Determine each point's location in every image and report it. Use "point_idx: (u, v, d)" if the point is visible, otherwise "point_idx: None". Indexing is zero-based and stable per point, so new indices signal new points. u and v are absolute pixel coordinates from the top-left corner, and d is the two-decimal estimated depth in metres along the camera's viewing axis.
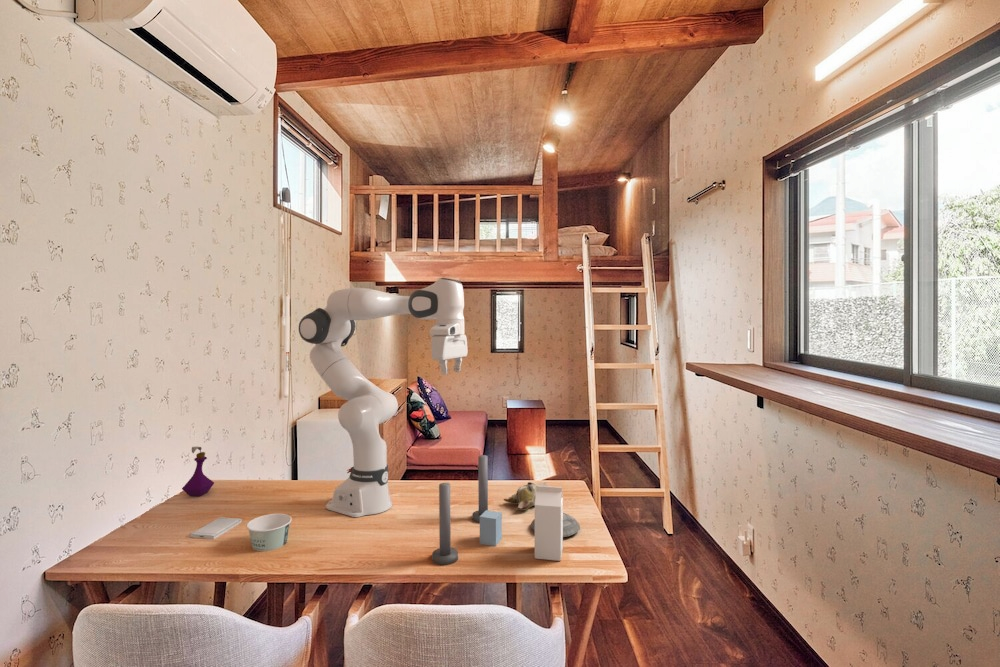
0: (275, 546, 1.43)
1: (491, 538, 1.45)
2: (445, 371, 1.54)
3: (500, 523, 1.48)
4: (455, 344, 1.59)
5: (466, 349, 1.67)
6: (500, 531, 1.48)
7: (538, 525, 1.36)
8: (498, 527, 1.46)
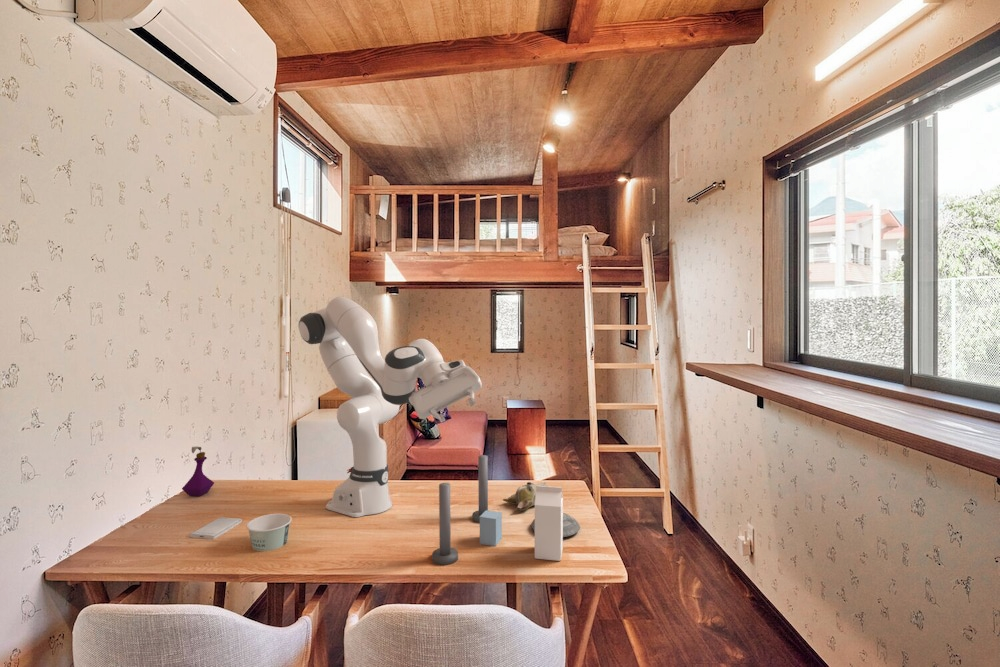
0: (275, 546, 1.43)
1: (491, 538, 1.45)
2: None
3: (500, 523, 1.48)
4: None
5: None
6: (500, 531, 1.48)
7: (539, 525, 1.36)
8: (498, 527, 1.46)
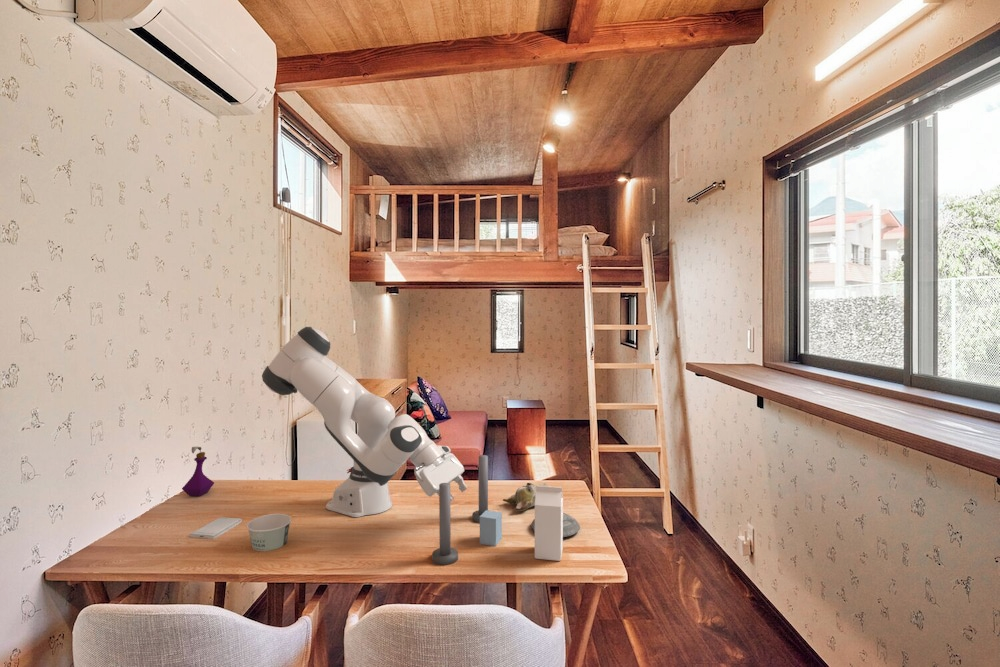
0: (275, 546, 1.43)
1: (491, 538, 1.45)
2: None
3: (500, 523, 1.48)
4: None
5: None
6: (500, 531, 1.48)
7: (538, 525, 1.36)
8: (498, 527, 1.46)
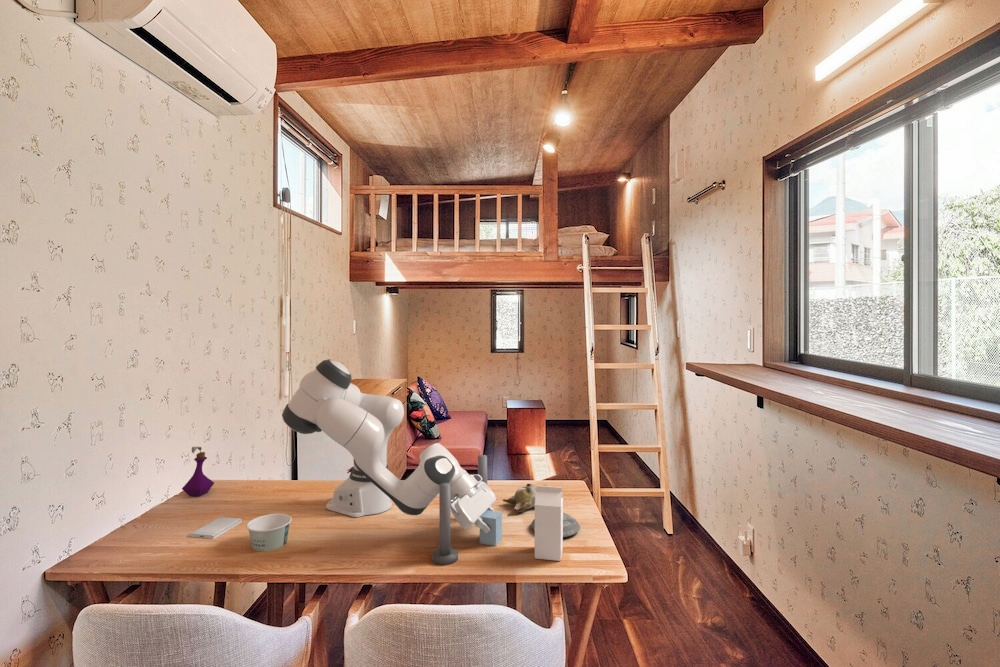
0: (275, 546, 1.43)
1: (491, 538, 1.45)
2: None
3: (500, 523, 1.48)
4: None
5: None
6: (500, 531, 1.48)
7: (539, 525, 1.36)
8: (498, 527, 1.46)
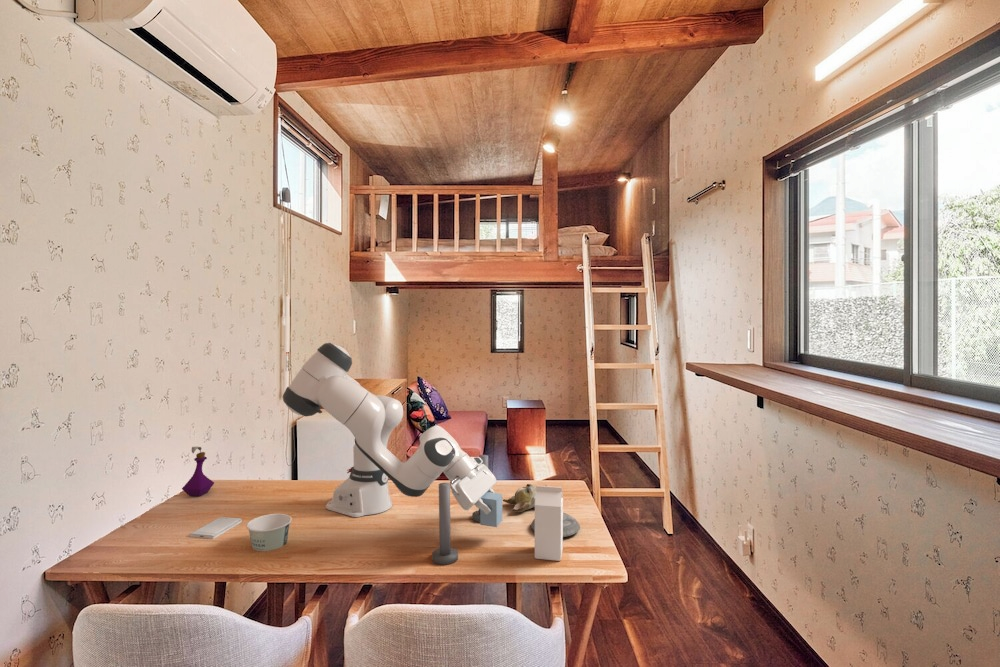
0: (275, 546, 1.43)
1: (491, 519, 1.45)
2: None
3: (501, 504, 1.48)
4: None
5: None
6: (501, 512, 1.48)
7: (539, 525, 1.36)
8: (498, 508, 1.46)
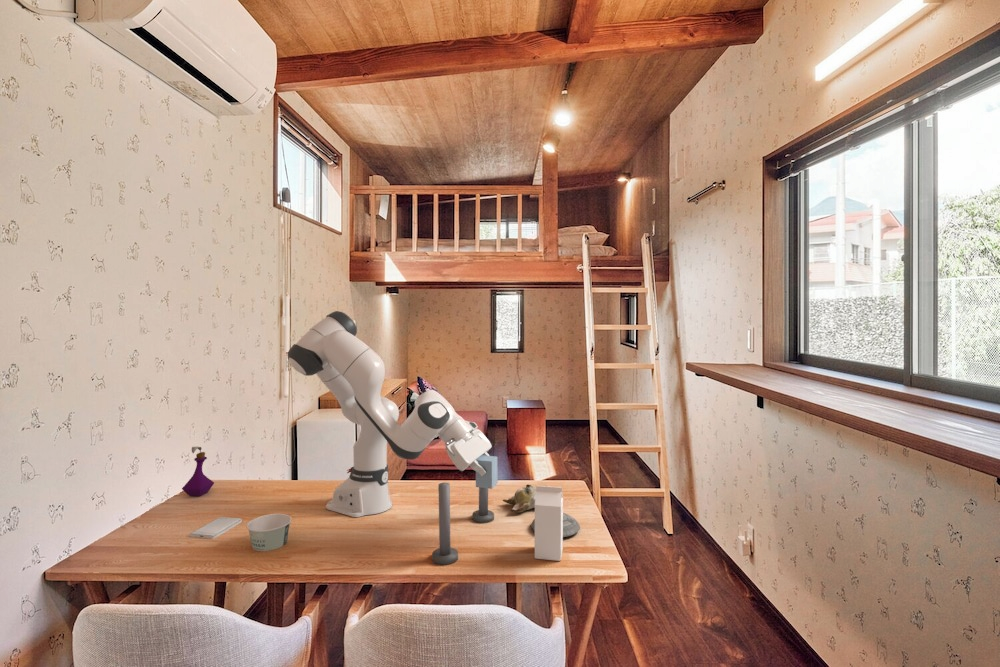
0: (275, 546, 1.43)
1: (487, 481, 1.45)
2: None
3: (496, 467, 1.49)
4: None
5: None
6: (496, 475, 1.49)
7: (539, 525, 1.36)
8: (494, 471, 1.47)
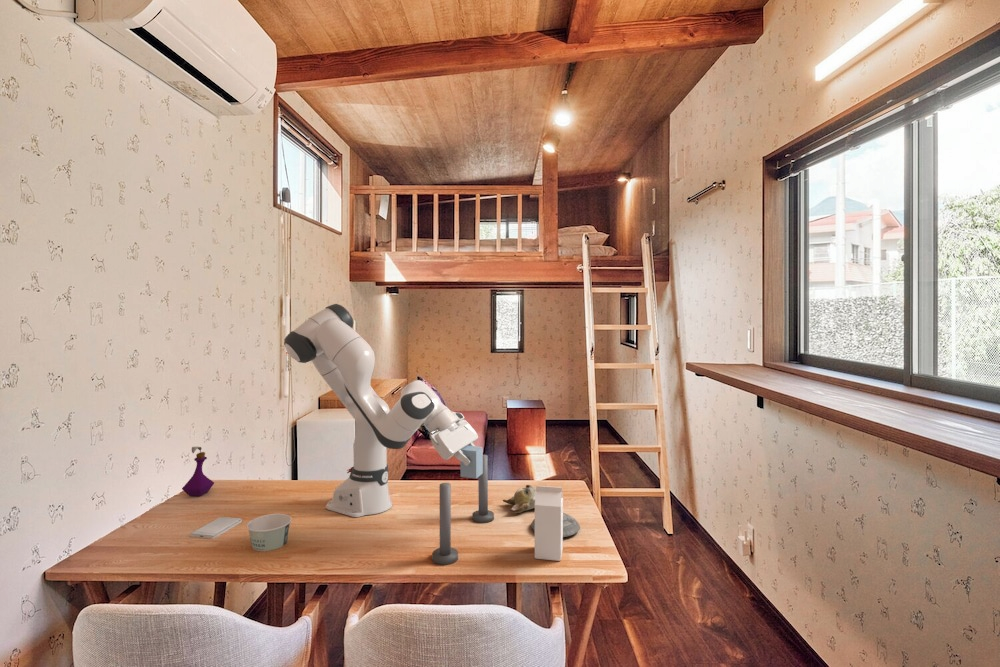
0: (275, 546, 1.43)
1: (471, 470, 1.46)
2: None
3: (481, 457, 1.49)
4: None
5: None
6: (481, 465, 1.49)
7: (539, 525, 1.36)
8: (478, 460, 1.47)
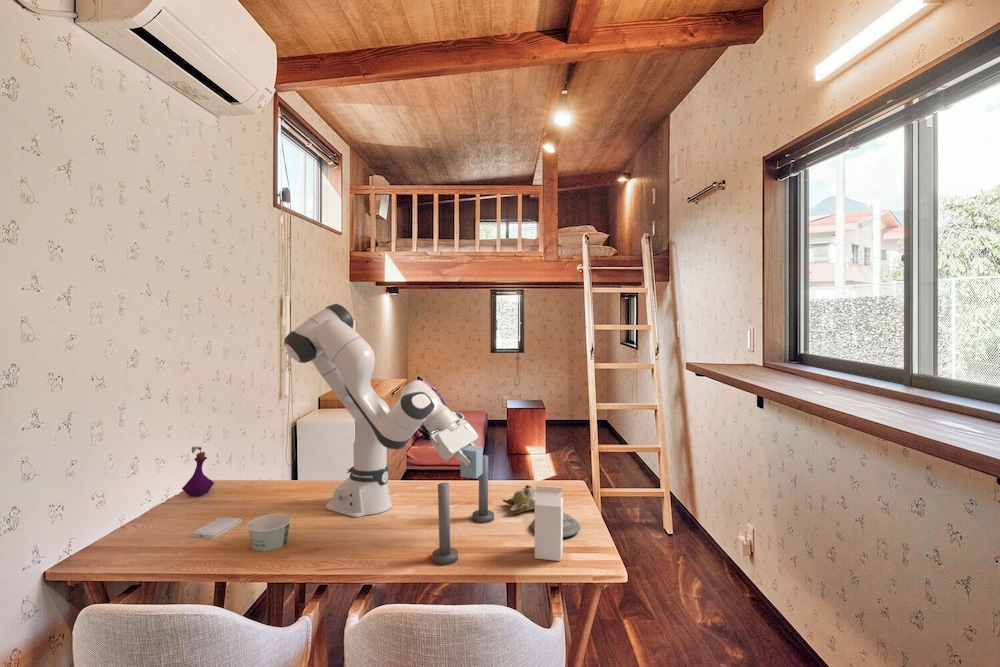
0: (275, 546, 1.43)
1: (471, 470, 1.46)
2: None
3: (481, 457, 1.49)
4: None
5: None
6: (481, 465, 1.49)
7: (539, 525, 1.36)
8: (478, 460, 1.47)
